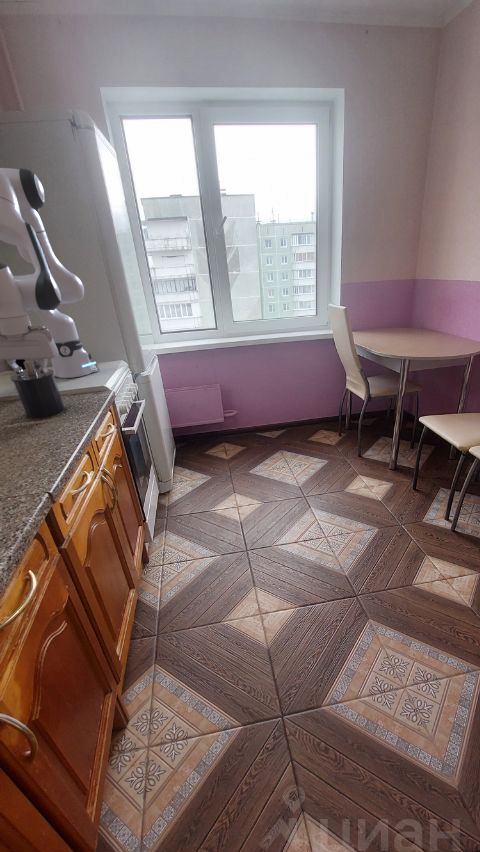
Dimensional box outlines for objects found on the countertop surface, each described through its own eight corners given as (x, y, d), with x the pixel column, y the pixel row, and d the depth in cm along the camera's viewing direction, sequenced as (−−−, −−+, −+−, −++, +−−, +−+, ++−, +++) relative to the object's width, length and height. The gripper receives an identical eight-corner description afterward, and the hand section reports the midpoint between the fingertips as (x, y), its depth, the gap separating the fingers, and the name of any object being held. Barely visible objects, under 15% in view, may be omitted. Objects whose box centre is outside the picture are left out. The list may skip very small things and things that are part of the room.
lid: (17, 375, 124) (11, 359, 122) (57, 371, 127) (52, 355, 124) (6, 386, 114) (-1, 368, 112) (50, 381, 117) (45, 364, 114)
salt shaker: (46, 393, 145) (35, 362, 139) (33, 393, 146) (21, 361, 140) (57, 388, 150) (46, 357, 144) (44, 388, 151) (33, 357, 145)
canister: (32, 410, 130) (18, 373, 124) (67, 405, 133) (55, 369, 126) (24, 422, 121) (8, 383, 115) (61, 417, 124) (48, 379, 117)
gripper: (54, 323, 115) (68, 369, 122) (-10, 325, 116) (8, 370, 123) (42, 327, 109) (58, 375, 117) (-25, 329, 111) (-5, 376, 118)
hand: (31, 373), depth 120 cm, fingers open, 7 cm apart
